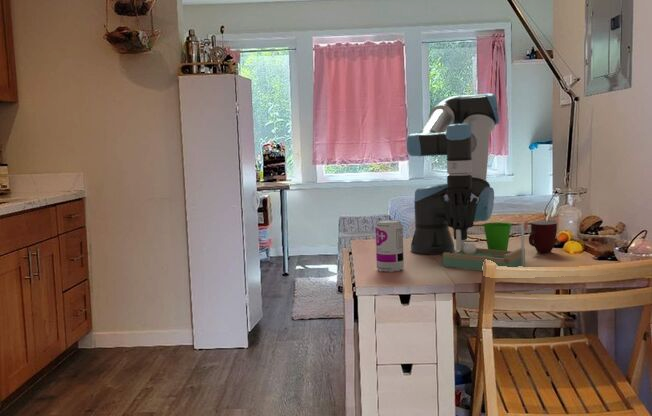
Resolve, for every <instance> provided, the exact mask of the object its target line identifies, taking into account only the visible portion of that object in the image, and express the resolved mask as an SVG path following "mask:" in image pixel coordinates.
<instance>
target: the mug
mask: <svg viewBox="0 0 652 416" xmlns="http://www.w3.org/2000/svg"><path fill="white" fill-rule="evenodd" d="M557 229H558V222H555V221H549V220H547V221H546V220H544V221H543V220H542V221H532V222H530V232H531V233H530V234H529V235H528V243H529V245H530V246H532V247H534V249H535V250H536V252H537V253H538V254H543V255H544V254H550V253H551V252H552V250H553V248H554V246H555V244H556V238H557V231H558V230H557Z"/></svg>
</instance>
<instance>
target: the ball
mask: <svg viewBox="0 0 652 416" xmlns="http://www.w3.org/2000/svg"><path fill="white" fill-rule="evenodd" d="M476 248H477V246H476V245H475V244H474V243H473V242H465V245H464V247H463V251H464V253H465V254H466V255H473V254H474V253H475V252H476Z"/></svg>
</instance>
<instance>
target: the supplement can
mask: <svg viewBox="0 0 652 416" xmlns="http://www.w3.org/2000/svg"><path fill="white" fill-rule="evenodd" d="M403 230H404V227H403V224H402V222H401V220H398V219H383V220H382V219H381V220H377V223H376V225H375V250H376V251H375V252H376V253H375V254H376V269H377V270H378V271H379V270H381V271H380V272H382V271H389V272H388V273H394V272H393V271H397V272H401V271H402V269H404V267H405V265H404V264H405V262H404V260H405V259H404V257H405V255H404V232H403ZM400 270H401V271H400Z"/></svg>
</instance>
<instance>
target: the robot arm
mask: <svg viewBox="0 0 652 416" xmlns="http://www.w3.org/2000/svg"><path fill="white" fill-rule="evenodd" d="M499 115H500V114H499V107H498V99H497V95H496V94H494V93H485V92H484V93H481V94H480V93H478V94H466V95H465V94H462V95H453V96H449V97H446V98H445V99H443V100H441V101H439V102H438V103H437V104H435V105H434V106H433V107H432V108H431V109H430V112H429V115H428V119H427V121H426V123H425V124H424V125H423V126H422V128H421V130H420V132H415V133H410V134H408V136H407V138H406V150H407V153H408V155H409V156H410V157H419V158H420V157H430V156H431V157H432V156H433V157H434V156H446V173H447V174H448V175H447V176H446V183H439V184H434V185H433V184H432V185H427V186H422V187H419V188H416V189H415V191H414V201H413V203H414V227H415V228H414V230H415V231H414V233H413V236H412V240H411V242H410V252H412V253H415V254H421V255H441V254H442V255H443V253H444V252H445V253H454V252H455V248H456V252H459V251H462V250H463V247H464V245H465V244H466V240H467V239H468V229H472V228H473V226H474V223H478V222H487V221H488V220H489V219H491V216H492V214H493V210H494V205H495V203H494V201H495V190H494V188H493V187H491V184H490V183H489V182H488V180H487V175H488V163H489V162H488V161H489V149H490V135H491V134H490V133H492V132H493V130H494V129H495V126H497V125H499V124H500V116H499ZM450 228H452V229H453V237H452V234H451V231H450ZM453 239H454V240H455V242H456V243H454V241H453ZM455 245H456V247H455Z"/></svg>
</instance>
